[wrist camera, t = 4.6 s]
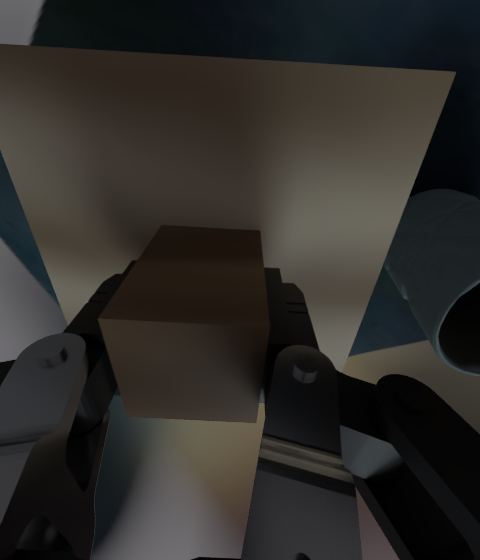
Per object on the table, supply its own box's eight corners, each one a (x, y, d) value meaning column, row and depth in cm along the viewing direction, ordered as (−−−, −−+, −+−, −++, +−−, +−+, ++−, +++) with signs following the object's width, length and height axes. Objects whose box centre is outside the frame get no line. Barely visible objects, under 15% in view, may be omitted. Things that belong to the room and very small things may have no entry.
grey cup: (508, 199, 24) (700, 268, 14) (434, 291, 29) (535, 391, 19) (402, 166, 23) (529, 215, 13) (346, 269, 28) (403, 363, 18)
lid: (-17, 46, 8) (-447, -41, 3) (439, 74, 8) (739, 33, 3) (93, 359, 15) (18, 484, 10) (333, 371, 15) (374, 500, 10)
